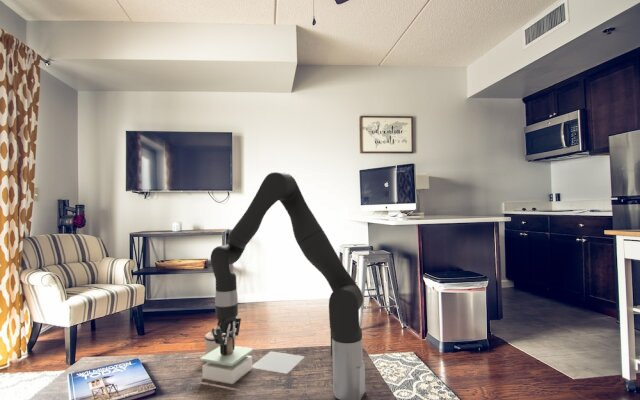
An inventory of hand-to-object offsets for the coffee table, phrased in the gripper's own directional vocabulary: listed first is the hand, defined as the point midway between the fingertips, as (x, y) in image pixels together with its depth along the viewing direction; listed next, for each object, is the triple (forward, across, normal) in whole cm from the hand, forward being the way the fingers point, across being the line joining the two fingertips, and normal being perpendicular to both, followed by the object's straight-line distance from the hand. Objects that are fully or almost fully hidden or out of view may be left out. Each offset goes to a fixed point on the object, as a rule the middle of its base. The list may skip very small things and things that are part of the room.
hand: (227, 352), depth 129 cm
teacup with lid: (+8, +12, +13) cm, 20 cm away
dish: (+8, 0, 0) cm, 8 cm away
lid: (+1, 0, 0) cm, 1 cm away
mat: (+8, +14, -12) cm, 20 cm away
